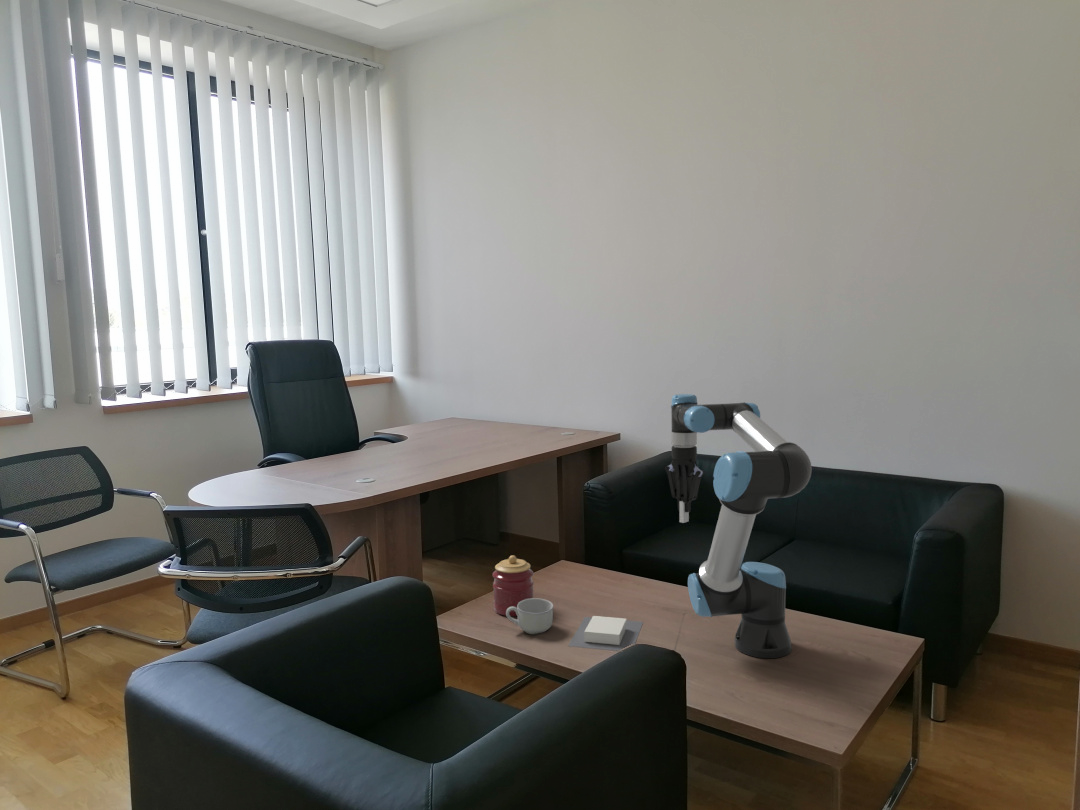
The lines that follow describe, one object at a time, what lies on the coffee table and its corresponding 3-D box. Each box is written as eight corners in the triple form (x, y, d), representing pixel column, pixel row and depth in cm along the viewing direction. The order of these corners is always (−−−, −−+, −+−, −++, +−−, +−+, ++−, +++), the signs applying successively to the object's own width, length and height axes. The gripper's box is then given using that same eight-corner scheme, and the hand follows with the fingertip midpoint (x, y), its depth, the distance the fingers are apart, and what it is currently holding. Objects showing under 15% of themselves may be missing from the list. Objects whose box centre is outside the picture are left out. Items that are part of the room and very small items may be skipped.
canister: (525, 619, 243) (523, 563, 241) (486, 614, 248) (485, 559, 246) (540, 604, 255) (539, 551, 253) (503, 600, 260) (501, 547, 258)
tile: (593, 615, 235) (584, 631, 224) (626, 618, 232) (619, 634, 221) (593, 626, 235) (584, 642, 224) (626, 629, 233) (619, 645, 221)
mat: (585, 618, 243) (585, 616, 243) (643, 623, 238) (643, 621, 238) (568, 647, 222) (568, 645, 222) (631, 653, 217) (631, 652, 217)
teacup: (555, 623, 239) (554, 598, 238) (552, 638, 229) (551, 611, 228) (509, 622, 241) (508, 597, 240) (504, 637, 230) (503, 610, 229)
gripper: (709, 446, 236) (709, 523, 239) (673, 441, 246) (674, 515, 248) (695, 449, 231) (694, 528, 234) (659, 444, 240) (659, 520, 243)
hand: (684, 521), depth 241 cm, fingers closed
